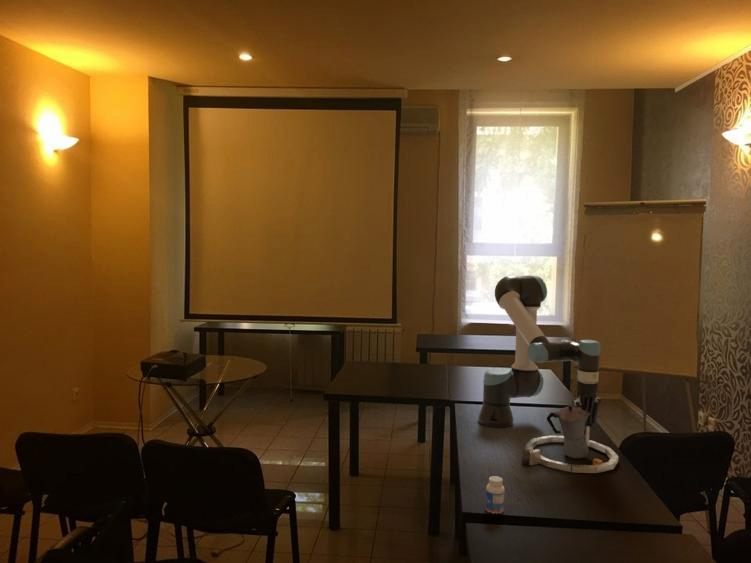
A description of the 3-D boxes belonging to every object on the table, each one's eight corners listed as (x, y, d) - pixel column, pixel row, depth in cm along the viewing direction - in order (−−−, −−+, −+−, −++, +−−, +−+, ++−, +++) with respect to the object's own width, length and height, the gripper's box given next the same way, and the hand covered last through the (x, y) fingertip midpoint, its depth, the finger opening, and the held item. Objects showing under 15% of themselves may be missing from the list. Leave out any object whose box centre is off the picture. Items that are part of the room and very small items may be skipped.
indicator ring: (493, 450, 225) (494, 437, 225) (570, 436, 243) (570, 424, 243) (555, 482, 197) (555, 468, 196) (636, 463, 215) (636, 450, 214)
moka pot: (598, 457, 216) (589, 412, 210) (555, 462, 220) (545, 417, 214) (595, 441, 225) (586, 397, 218) (553, 446, 229) (543, 402, 222)
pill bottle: (483, 505, 180) (484, 474, 179) (500, 505, 180) (501, 474, 179) (488, 514, 174) (489, 482, 174) (506, 514, 175) (507, 482, 174)
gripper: (582, 385, 216) (579, 448, 218) (608, 382, 222) (604, 443, 224) (567, 380, 223) (564, 441, 225) (592, 377, 229) (589, 437, 231)
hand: (584, 442), depth 224 cm, fingers closed
